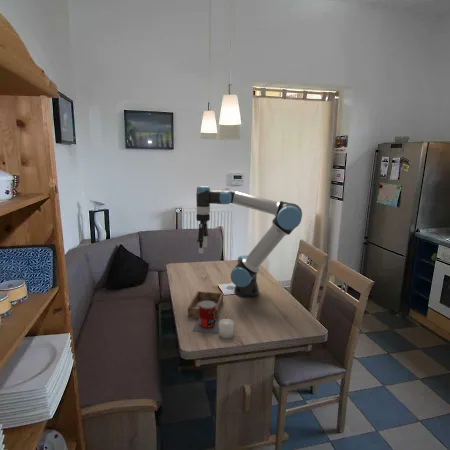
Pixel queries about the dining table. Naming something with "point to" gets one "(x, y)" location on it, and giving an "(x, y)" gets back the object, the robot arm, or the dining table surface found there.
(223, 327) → the off-white domed pebble
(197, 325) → the mat
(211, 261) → the dining table surface
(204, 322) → the canned food
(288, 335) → the dining table surface
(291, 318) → the dining table surface
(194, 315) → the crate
